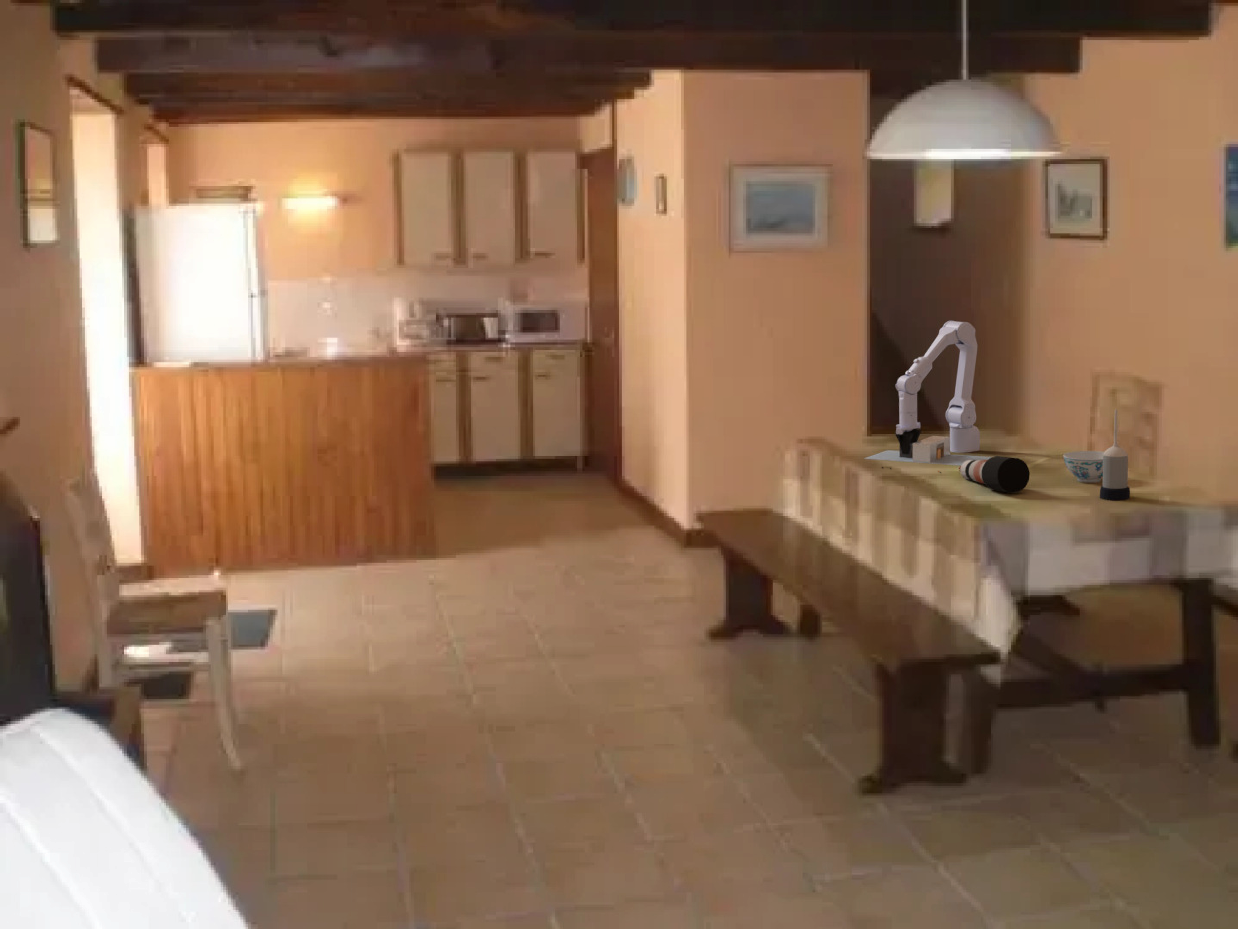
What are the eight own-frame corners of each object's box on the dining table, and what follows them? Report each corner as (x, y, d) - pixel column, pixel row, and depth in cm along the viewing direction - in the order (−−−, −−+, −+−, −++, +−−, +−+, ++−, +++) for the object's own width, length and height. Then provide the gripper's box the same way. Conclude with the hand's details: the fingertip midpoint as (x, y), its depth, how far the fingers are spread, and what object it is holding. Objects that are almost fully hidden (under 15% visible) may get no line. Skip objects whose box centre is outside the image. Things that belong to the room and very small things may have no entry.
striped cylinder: (969, 490, 480) (982, 460, 480) (1021, 498, 447) (1035, 465, 447) (941, 477, 478) (954, 447, 478) (991, 484, 444) (1005, 452, 445)
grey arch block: (950, 454, 513) (950, 436, 511) (930, 462, 500) (929, 444, 499) (933, 453, 516) (933, 435, 515) (912, 461, 503) (912, 443, 502)
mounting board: (997, 459, 504) (997, 457, 504) (975, 469, 490) (975, 466, 490) (887, 452, 527) (887, 450, 526) (863, 460, 512) (863, 458, 512)
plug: (941, 457, 508) (941, 445, 507) (936, 459, 505) (936, 447, 504) (904, 455, 515) (904, 443, 515) (899, 456, 512) (899, 445, 511)
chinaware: (1052, 479, 468) (1052, 454, 467) (1092, 474, 474) (1092, 449, 473) (1085, 487, 455) (1086, 461, 453) (1126, 481, 460) (1126, 455, 459)
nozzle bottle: (1121, 494, 442) (1122, 407, 438) (1135, 499, 434) (1137, 410, 430) (1094, 496, 441) (1095, 408, 437) (1108, 501, 433) (1109, 412, 429)
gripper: (906, 408, 518) (906, 448, 520) (887, 414, 506) (887, 455, 509) (926, 409, 514) (926, 450, 516) (907, 415, 502) (907, 456, 505)
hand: (908, 452), depth 512 cm, fingers closed on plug, 4 cm apart
